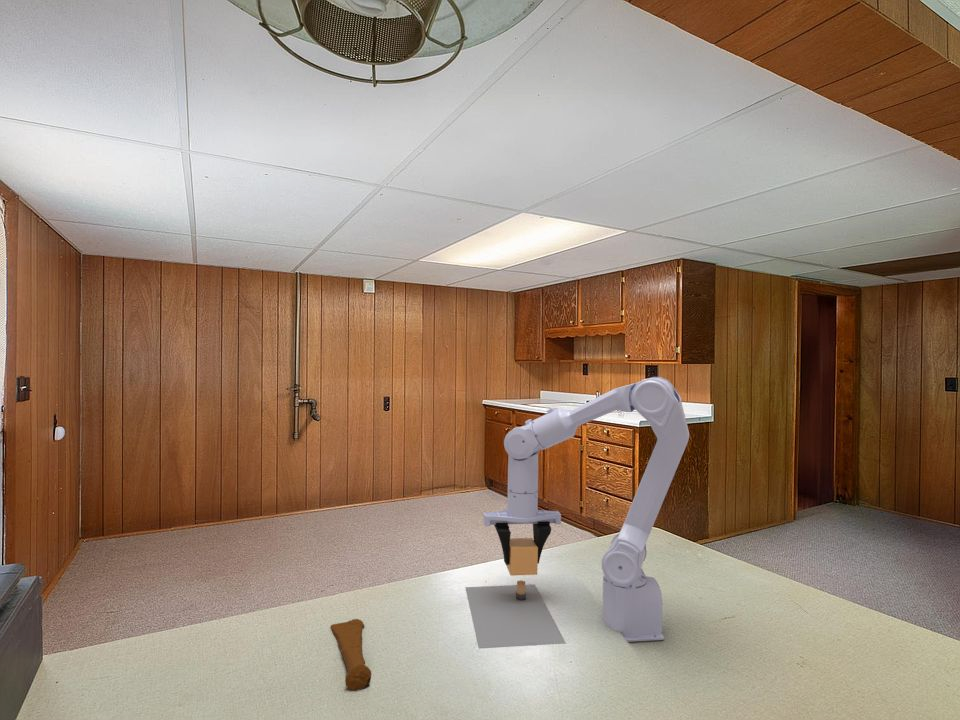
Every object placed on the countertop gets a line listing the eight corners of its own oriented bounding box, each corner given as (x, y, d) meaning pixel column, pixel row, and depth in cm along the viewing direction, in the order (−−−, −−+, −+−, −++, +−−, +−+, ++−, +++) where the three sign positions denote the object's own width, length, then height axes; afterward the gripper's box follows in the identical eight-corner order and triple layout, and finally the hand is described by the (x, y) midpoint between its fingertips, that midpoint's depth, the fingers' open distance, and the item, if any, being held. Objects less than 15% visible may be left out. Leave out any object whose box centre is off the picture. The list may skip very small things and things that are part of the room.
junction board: (534, 591, 101) (535, 569, 101) (565, 652, 80) (566, 624, 80) (465, 594, 100) (465, 572, 99) (478, 657, 79) (479, 628, 79)
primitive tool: (329, 627, 88) (330, 607, 88) (361, 622, 90) (362, 602, 90) (345, 697, 70) (346, 671, 70) (384, 687, 72) (385, 663, 72)
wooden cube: (531, 563, 98) (531, 537, 98) (537, 574, 93) (537, 547, 93) (505, 564, 98) (506, 538, 98) (510, 575, 93) (511, 548, 93)
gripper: (554, 484, 100) (553, 552, 100) (481, 485, 98) (480, 555, 98) (564, 493, 93) (563, 567, 93) (486, 495, 91) (485, 570, 91)
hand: (521, 562), depth 95 cm, fingers closed on wooden cube, 5 cm apart
